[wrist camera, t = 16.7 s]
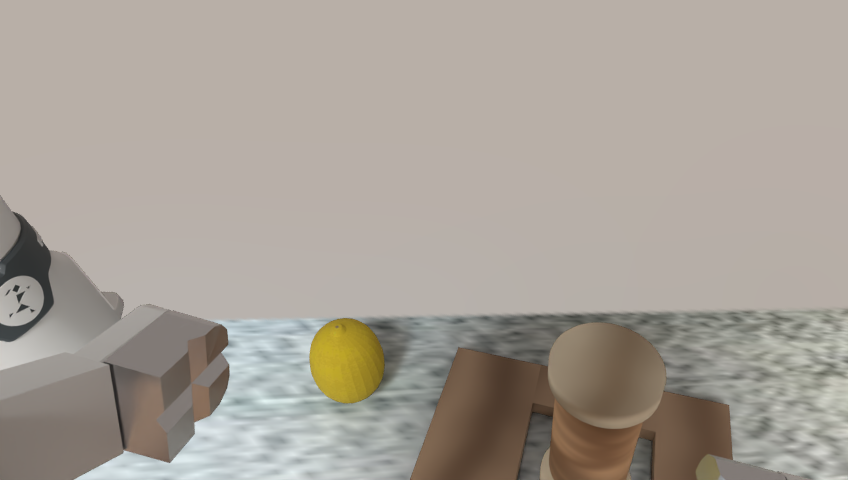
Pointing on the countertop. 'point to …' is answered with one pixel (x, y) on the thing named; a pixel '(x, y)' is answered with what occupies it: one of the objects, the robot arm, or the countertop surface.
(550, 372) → the bobbin
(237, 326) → the countertop surface
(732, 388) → the countertop surface
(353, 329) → the lemon
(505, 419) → the notched board
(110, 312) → the robot arm
